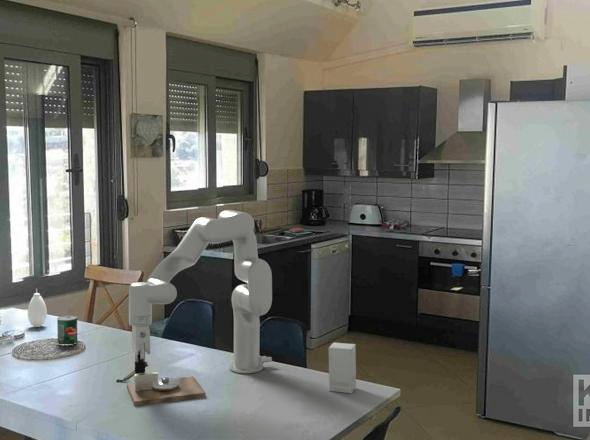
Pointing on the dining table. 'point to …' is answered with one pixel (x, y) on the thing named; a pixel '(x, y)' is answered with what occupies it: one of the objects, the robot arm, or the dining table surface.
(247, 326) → the robot arm
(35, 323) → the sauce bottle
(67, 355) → the dining table surface
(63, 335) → the canned tomato
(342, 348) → the skincare box
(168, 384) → the dial
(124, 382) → the tan handled tool
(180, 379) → the dial plate
